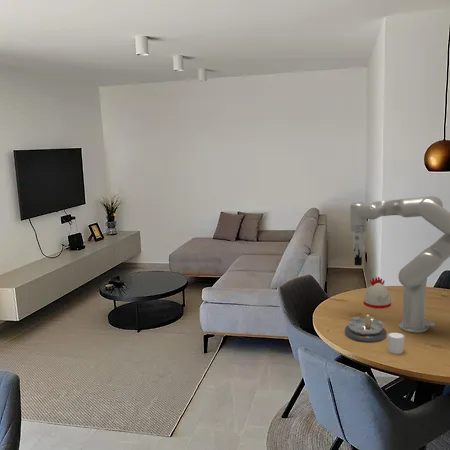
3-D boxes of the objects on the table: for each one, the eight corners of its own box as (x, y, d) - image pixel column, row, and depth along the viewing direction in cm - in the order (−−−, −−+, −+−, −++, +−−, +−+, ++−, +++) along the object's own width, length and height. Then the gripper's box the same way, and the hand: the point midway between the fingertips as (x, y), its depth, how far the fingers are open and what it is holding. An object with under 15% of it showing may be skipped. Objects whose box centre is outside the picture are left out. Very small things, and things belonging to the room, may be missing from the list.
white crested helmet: (359, 301, 264) (359, 274, 262) (382, 298, 267) (382, 272, 264) (371, 309, 251) (372, 281, 248) (396, 306, 253) (396, 279, 251)
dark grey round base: (387, 329, 225) (387, 324, 225) (384, 344, 209) (384, 339, 208) (348, 324, 232) (348, 320, 232) (342, 339, 216) (342, 334, 215)
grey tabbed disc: (346, 323, 228) (346, 304, 226) (378, 323, 226) (378, 304, 225) (351, 336, 213) (351, 316, 212) (385, 336, 212) (386, 316, 210)
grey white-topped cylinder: (390, 346, 207) (391, 330, 206) (406, 350, 203) (407, 334, 201) (384, 352, 202) (384, 336, 201) (401, 356, 197) (401, 339, 196)
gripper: (364, 231, 225) (364, 269, 228) (368, 225, 238) (368, 261, 241) (348, 230, 228) (347, 268, 231) (352, 225, 241) (352, 260, 244)
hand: (358, 264), depth 236 cm, fingers closed
